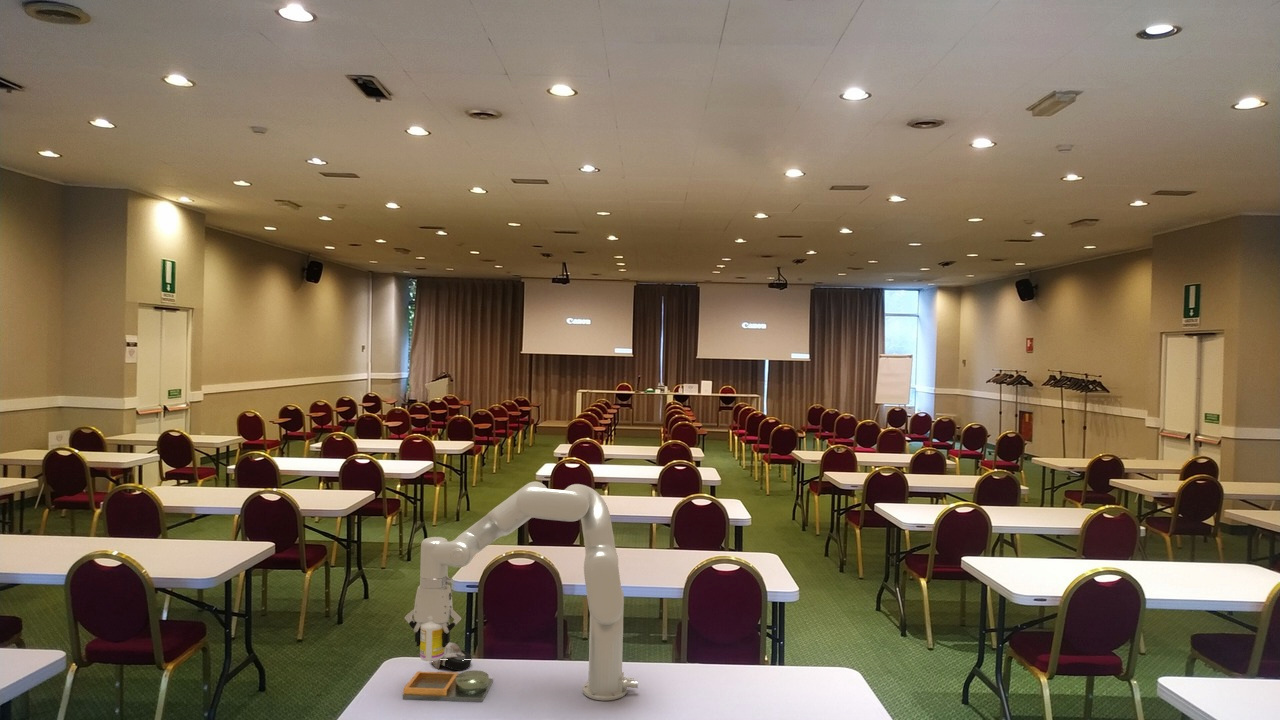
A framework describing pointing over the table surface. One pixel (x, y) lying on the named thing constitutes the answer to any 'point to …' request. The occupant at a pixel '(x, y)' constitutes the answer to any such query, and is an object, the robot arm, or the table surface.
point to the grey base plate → (448, 686)
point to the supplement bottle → (431, 641)
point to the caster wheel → (454, 658)
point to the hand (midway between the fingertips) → (432, 644)
